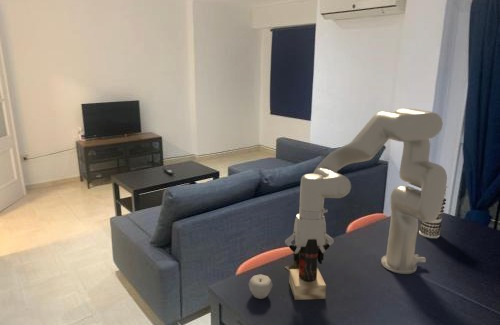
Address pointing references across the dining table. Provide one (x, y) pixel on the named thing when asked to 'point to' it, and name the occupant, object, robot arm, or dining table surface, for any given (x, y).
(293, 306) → the dining table surface
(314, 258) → the deodorant
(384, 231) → the dining table surface
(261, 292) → the apple
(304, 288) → the block
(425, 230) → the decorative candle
